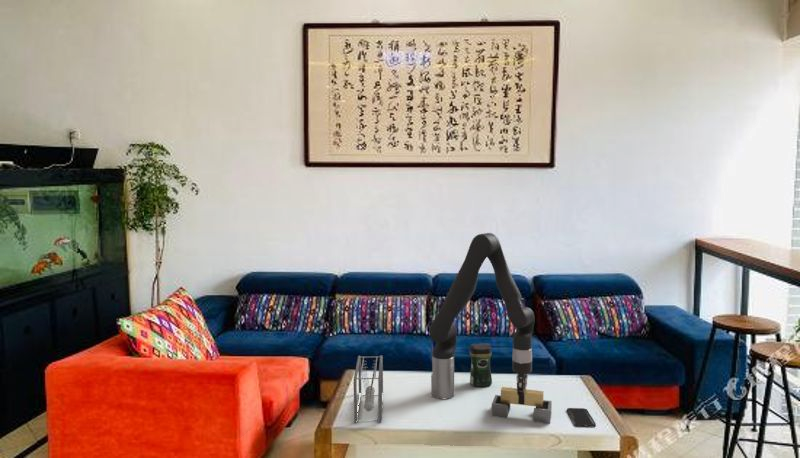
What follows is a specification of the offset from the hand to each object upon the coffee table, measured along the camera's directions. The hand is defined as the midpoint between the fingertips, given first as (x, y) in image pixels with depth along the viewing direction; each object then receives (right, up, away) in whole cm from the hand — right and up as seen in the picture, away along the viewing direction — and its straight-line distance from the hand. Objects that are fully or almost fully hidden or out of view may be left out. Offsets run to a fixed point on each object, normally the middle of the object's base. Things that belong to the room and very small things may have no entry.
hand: (521, 401), depth 220 cm
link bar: (0, 0, 0) cm, 1 cm away
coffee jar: (-11, -2, +33) cm, 35 cm away
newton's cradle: (-60, -6, +9) cm, 61 cm away
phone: (+22, -6, -3) cm, 23 cm away
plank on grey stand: (0, -5, +1) cm, 5 cm away
